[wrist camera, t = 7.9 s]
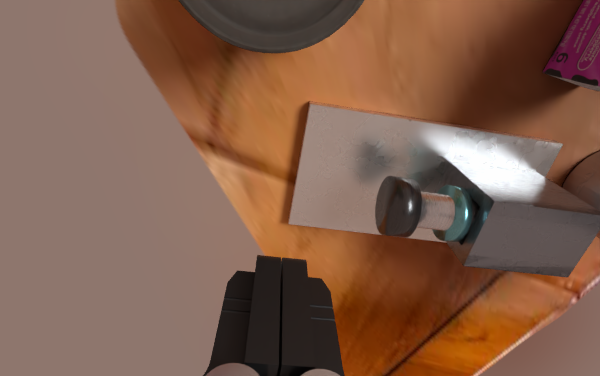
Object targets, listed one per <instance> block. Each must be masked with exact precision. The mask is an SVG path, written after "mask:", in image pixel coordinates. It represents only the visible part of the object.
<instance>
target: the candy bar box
mask: <svg viewBox="0 0 600 376" xmlns="http://www.w3.org/2000/svg"><path fill="white" fill-rule="evenodd" d="M543 73H545V74H547V75H550V76H553V77H556V78H559V79H561V80H564V81H567V82H570V83H573V84H576V85H579V86H581V87H584V88H588V89H592V90H596V91H600V0H583V2H582V4H581V6H580V7H579V9H578V11H577V13H576V14H575V16H574V18H573V20H572V21H571V23H570V25H569V27H568V29H567V30H566V32H565V34H564V35H563V37H562V39H561V41H560V43H559V44H558V46H557V48H556V50H555V51H554V53H553V55H552V56H551V58H550V60H549V62H548V63H547V65H546V67H545V69H544V70H543Z"/></svg>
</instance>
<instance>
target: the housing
mask: <svg viewBox="0 0 600 376" xmlns="http://www.w3.org/2000/svg"><path fill="white" fill-rule="evenodd" d="M562 145H563V144H561V143H559V142H557V141H555V140H550V139H543V138H537V137H531V136H525V135H518V134H512V133H506V132H500V131H493V130H487V129H481V128H475V127H469V126H462V125H456V124H450V123H444V122H437V121H431V120H425V119H419V118H412V117H406V116H400V115H394V114H388V113H381V112H375V111H369V110H363V109H356V108H350V107H344V106H338V105H331V104H325V103H319V102H313V101H309V106H308V111H307V117H306V123H305V128H304V134H303V139H302V145H301V150H300V156H299V162H298V167H297V173H296V178H295V184H294V190H293V195H292V201H291V206H290V212H289V217H288V222H289V224H293V225H301V226H310V227H318V228H327V229H335V230H344V231H352V232H361V233H370V234H378V235H382V234H380V233H379V231H378V229H377V226H376V220H375V206H376V199H377V194H378V191H379V188H380V185H381V183H382V182H383V180H384V179H385V178H386V177H387V176H396V177H403V178H410V179H414V180H416V181H417V183H418V184H419V187H420V190H421V192H428V193H437V192H438V191H439V189H440V188H442V187H443V186H445V185H452V186H460V187H463V188H464V189H466V190H467V192H468V193H469V195H470V197H471V198H472V199H473V200H474V201H475V202H476V203H477V204H478V205H479V206H480V209H479V211H478V213H477V215H476V218H475V220H474V222H473V224H472V226H471V228H470V230H469V233H468V234H466V235H465V236H464V238H463V239H461V240H460V241H458V242H448V241H441V240H439V239H438V238H436V236H435V235H434V233H433V231H432V229H425V228H416V229H415V231H414V233H413V234H412V235H411V236H409V237H407V238H412V239H421V240H429V241H438V242H446V243H447V244H448V245H449V247H450V248H451V249H452V251H453V252H454V254H455V255H456V256H457V258H458V259H459V261H460V262H461V263H462V265H463V266H468V267H477V268H487V269H496V270H505V271H514V272H523V273H532V274H542V275H551V276H560V277H568V276H569V275H570V273H571V272H572V270H573V269H574V267H575V266H576V265H577V263H578V262H579V260H580V259H581V257H582V256H583V254H584V253H585V251H586V250H587V248H588V247H589V245H590V244H591V242H592V241H593V239H594V238H595V236H596V235H597V233H598V232H599V230H600V211H599V210H597V209H596V208H594V207H592V206H591V205H589V204H588V203H586V202H584V201H583V200H581V199H579V198H578V197H576V196H575V195H573V194H571V193H570V192H568V191H566V190H565V189H563V188H562V187H560V186H558V185H557V184H555V183H553V182H552V181H550V180H549V179H547V178H545V177H546V175H547V173H548V171H549V169H550V167H551V165H552V164H553V162H554V160H555V158H556V156H557V154H558V153H559V151H560V149H561V147H562ZM395 237H396V236H395Z"/></svg>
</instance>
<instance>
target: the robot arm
mask: <svg viewBox="0 0 600 376" xmlns="http://www.w3.org/2000/svg"><path fill="white" fill-rule="evenodd" d="M562 188H563V189H565V190H566V191H568V192H570V193H571V194H573V195H575V196H576V197H578V198H579V199H581V200H583V201H584V202H586V203H588V204H589V205H591V206H592V207H594V208H596V209H597V210H599V211H600V151H599V152H597V153H595V154H593V155H591V156H590V157H588V158H586V159H585V160H584V161H582V162H581V163H580V164H579V165H578V166H577V167H576V168H575V169H574V170H573V171H572V172H571V173H570V175H569V176H568V177H567V179H566V180H565V183H564V185H563V187H562ZM596 236H597V237H598V238H599V239H600V230H599V232H598V233H597V235H596ZM332 308H333V305H332V299H331V293H330V291H329V289H328V288H327V286H326V285H325V283H324V282H323V280H322V279H320V278H310V277H308V274H307V263H306V260H301V259H292V258H282V261H281V257H271V256H261V255H258V256H257V261H256V269H255V272H246V271H237V272H236V273H235V274H234V275H233V277H232V278H231V279H230V280H229V281H228V283H227V288H226V292H225V297H224V301H223V306H222V311H221V315H220V320H219V324H218V329H217V333H216V338H215V342H214V347H213V351H212V356H211V360H210V364H209V367H208V369H207V371H206V372H205V374H204V375H203V376H345V375H344V372H343V367H342V361H341V354H340V348H339V342H338V336H337V330H336V324H335V321H334V320H335V317H334V311H333V309H332Z"/></svg>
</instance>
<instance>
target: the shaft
mask: <svg viewBox="0 0 600 376" xmlns="http://www.w3.org/2000/svg"><path fill="white" fill-rule="evenodd" d="M479 209H480V206H479V205H478V204H477V203H476V202H475V201H474V200H473V199H472V198H471V197H470V195H469V193H468V192H467V190H466V189H464V188H463V187H460V186H452V185H445V186H443V187H442V188H440V189H439V191H438V192H437V193H428V192H421V190H420V187H419V184H418V183H417V181H416V180H414V179H410V178H403V177H396V176H387V177H386V178H385V179H384V180H383V182H382V183H381V185H380V188H379V191H378V194H377V199H376V206H375V220H376V226H377V229H378V231H379V233H380V234H382V235H387V236H396V237H404V238H407V237H409V236H411V235H412V234H413V233H414V231H415V229H416V228H425V229H432V231H433V233H434V235H435V236H436V238H438V239H439V240H441V241H448V242H458V241H460V240H461V239H463V238H464V236H465V235H466V234H468V233H469V230H470V228H471V226H472V224H473V222H474V220H475V218H476V215H477V213H478V211H479Z"/></svg>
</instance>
